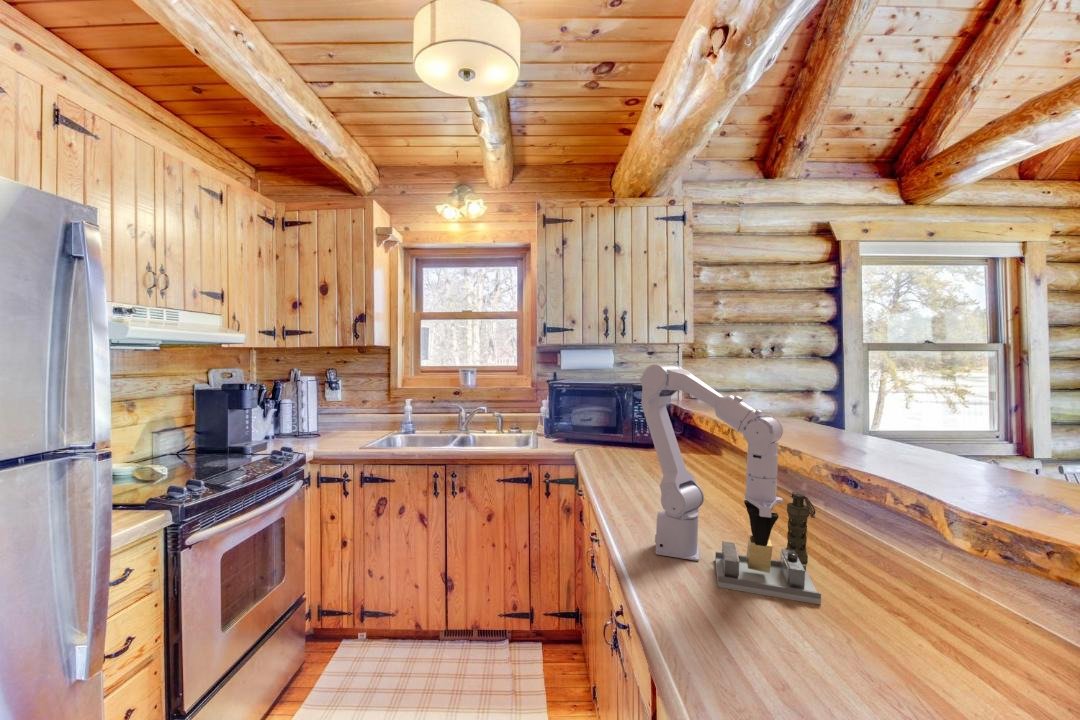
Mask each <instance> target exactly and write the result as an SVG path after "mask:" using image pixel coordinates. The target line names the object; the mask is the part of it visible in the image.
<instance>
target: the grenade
mask: <svg viewBox="0 0 1080 720" xmlns="http://www.w3.org/2000/svg"><path fill="white" fill-rule="evenodd" d="M789 498H792V502H788V503H786V513H787V515H788V517H787V518H788V520H787V535H786V536H787V538H786V539H787V545H786V547H785V548H784V549H789V550H795V552H796V554H798V558H799V560H800V562H801V564H805V563H808V558H809V555H808V552H807V541H808V539H807V538H808V537H807V533H808V518H809V517H810V518H811V519H816V509H815V507H814V505H813V503H812V502H811V501H810V498H809V497H808V496H806V495H805V492H798V491H792V492H791V495H790V496H789ZM804 502H805V504H804Z"/></svg>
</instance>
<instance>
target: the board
mask: <svg viewBox="0 0 1080 720" xmlns="http://www.w3.org/2000/svg"><path fill="white" fill-rule="evenodd" d="M746 556H747V555H742V554H738V557H739V576H738V579H736V578H730V577H724V572H723V565H722V551H715V555H714V558H715V559H714V561H715V562H714V563H715V572H716V580H717V581H716V582H717V587H718V588H721V589H726V588H727V589H728V590H734V591H737V592H738V591H739V592H744V593H751V594H757V595H763V596H768V597H773V598H774V597H775V598H779V599H780V598H781V599H785V600H792V601H797V602H803V603H809V604H815V605H819V606H820V605H822V593H821V591H820V592H819V591H817V589H816V587H815V585H814V583H813V581H812V579H811V577H810V575H809V573H808V571H807V565H806V564H804V563H801V564H802V566H803V568H804V570H805V585H804V590H803V589H797V588H791V587H789V586H788V584H787V581H786V579H785V576H784V574H783V571H782V569H781V566H780V561H781V560H775V559H771V565H770V573H766V572H762V571H757V570H753V569H748V566H747V562H746Z"/></svg>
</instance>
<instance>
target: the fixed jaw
mask: <svg viewBox="0 0 1080 720" xmlns="http://www.w3.org/2000/svg"><path fill="white" fill-rule="evenodd" d="M721 552H722V565H723V572H724V577H730V578H736V579H738V576H739V557H738V555H739V553H738V549H737V546H736V544H735V542H730V541H722V544H721Z"/></svg>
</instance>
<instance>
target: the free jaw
mask: <svg viewBox="0 0 1080 720" xmlns="http://www.w3.org/2000/svg"><path fill="white" fill-rule="evenodd" d="M779 561H780V566H781V569H782V571H783V574H784V576H785V579H786V581H787V584H788V586H789V587H791V588H797V589H803V590H804V585H805V570H804V568H803V566H802V564H803V563H801V562H800V560H799V558H798V554H796V552H795V550H789V549H785V548H781V551H780V560H779Z"/></svg>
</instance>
